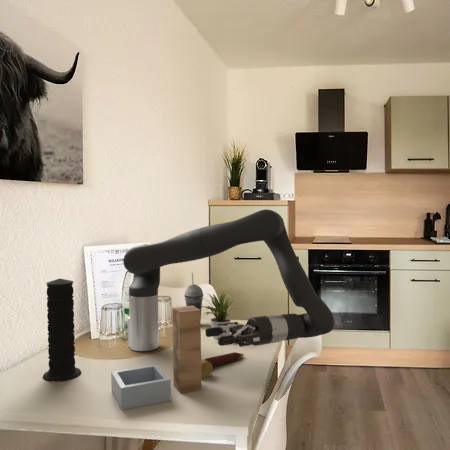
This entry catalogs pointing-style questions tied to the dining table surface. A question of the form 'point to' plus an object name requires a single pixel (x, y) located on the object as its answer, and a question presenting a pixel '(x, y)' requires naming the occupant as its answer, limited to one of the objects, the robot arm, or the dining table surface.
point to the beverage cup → (194, 296)
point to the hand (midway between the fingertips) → (212, 336)
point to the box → (140, 386)
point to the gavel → (217, 362)
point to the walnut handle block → (186, 348)
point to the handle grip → (61, 331)
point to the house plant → (219, 311)
